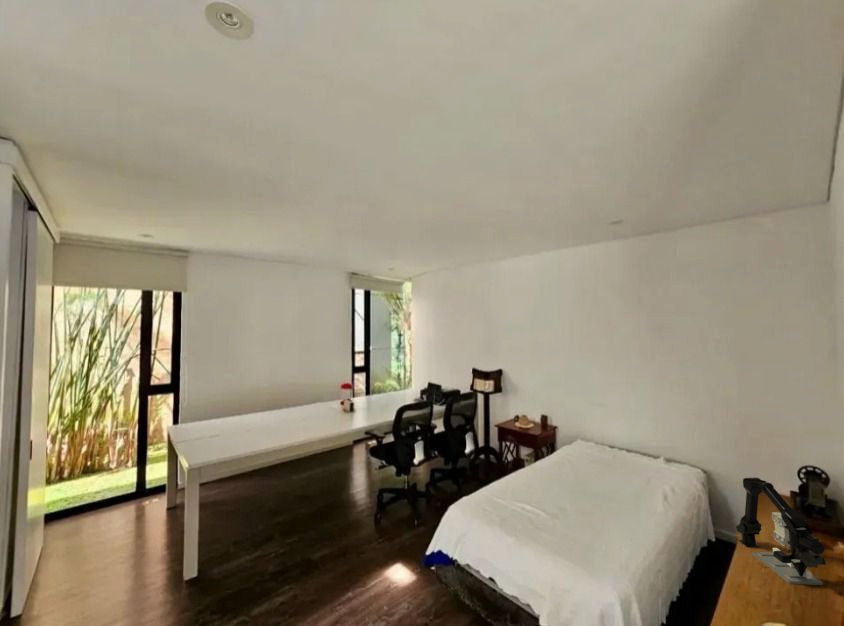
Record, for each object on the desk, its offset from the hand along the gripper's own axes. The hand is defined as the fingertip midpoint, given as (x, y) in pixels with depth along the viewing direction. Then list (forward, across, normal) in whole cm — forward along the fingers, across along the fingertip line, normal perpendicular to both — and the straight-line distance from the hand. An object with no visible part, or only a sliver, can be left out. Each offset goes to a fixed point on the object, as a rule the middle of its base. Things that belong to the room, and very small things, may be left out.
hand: (800, 575), depth 179 cm
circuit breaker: (+2, +22, +33) cm, 39 cm away
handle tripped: (+1, +3, 0) cm, 3 cm away
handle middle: (+1, +3, +9) cm, 9 cm away
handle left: (+1, +3, +18) cm, 18 cm away
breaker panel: (+2, 0, +9) cm, 9 cm away
